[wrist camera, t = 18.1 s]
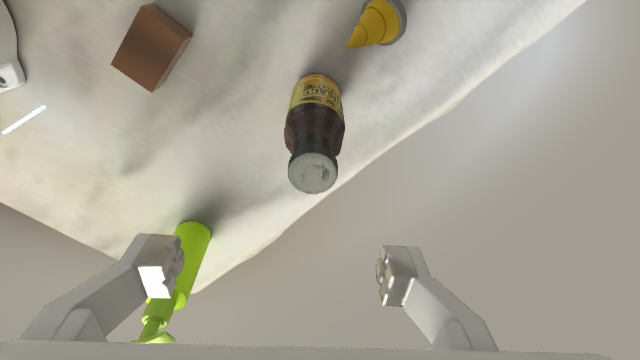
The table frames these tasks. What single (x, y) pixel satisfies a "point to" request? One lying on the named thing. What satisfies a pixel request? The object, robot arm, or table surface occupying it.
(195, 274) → the lime green necked cylinder
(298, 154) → the sauce bottle
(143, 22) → the plywood offcut
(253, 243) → the table surface
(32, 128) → the table surface
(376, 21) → the yellow tipped cone
